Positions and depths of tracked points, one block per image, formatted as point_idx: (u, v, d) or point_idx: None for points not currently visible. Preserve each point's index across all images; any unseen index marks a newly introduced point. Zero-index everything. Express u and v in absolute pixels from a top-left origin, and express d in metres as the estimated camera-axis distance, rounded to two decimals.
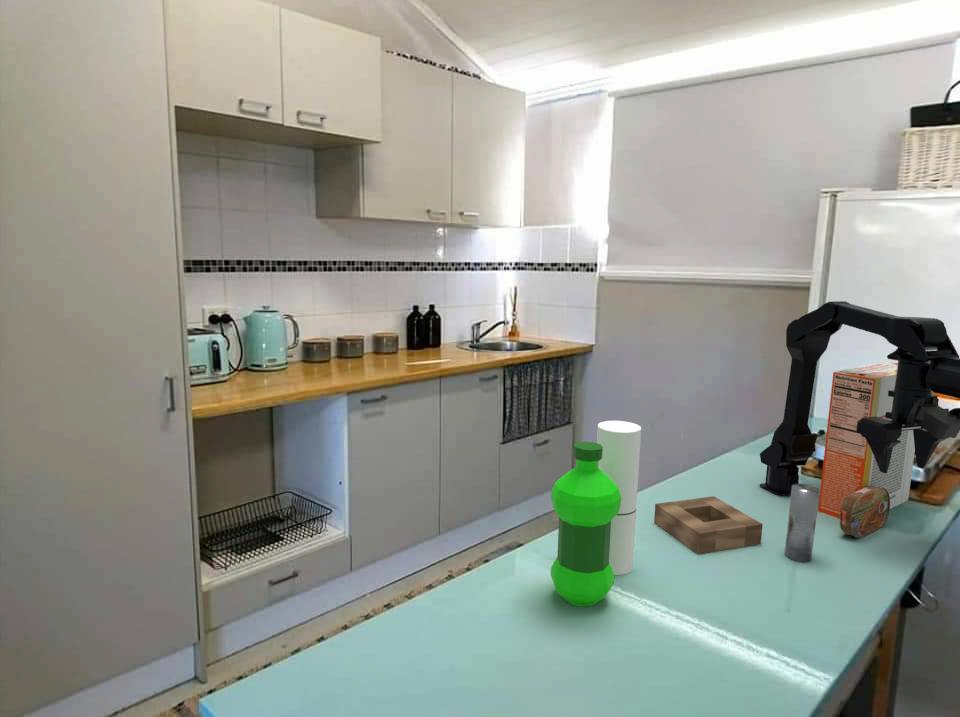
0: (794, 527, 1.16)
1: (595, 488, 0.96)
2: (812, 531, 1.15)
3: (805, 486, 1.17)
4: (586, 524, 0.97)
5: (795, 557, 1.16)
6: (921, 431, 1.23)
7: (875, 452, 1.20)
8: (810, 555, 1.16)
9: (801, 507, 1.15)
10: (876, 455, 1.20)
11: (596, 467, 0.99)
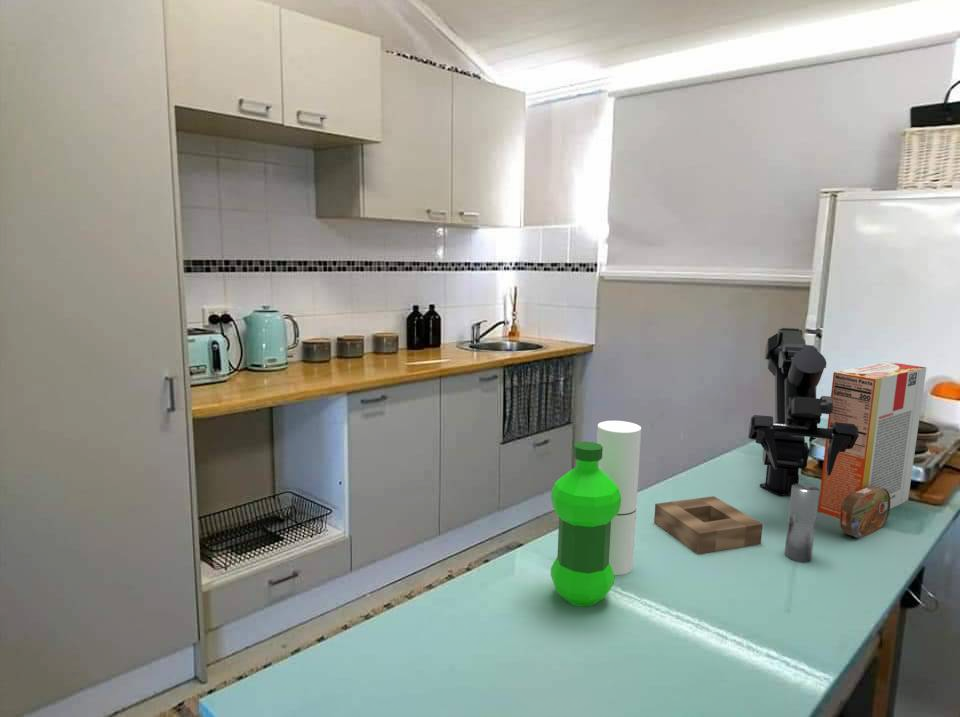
0: (794, 527, 1.16)
1: (595, 488, 0.96)
2: (812, 531, 1.15)
3: (805, 486, 1.17)
4: (586, 524, 0.97)
5: (795, 557, 1.16)
6: (829, 445, 1.27)
7: (768, 453, 1.28)
8: (810, 555, 1.16)
9: (801, 507, 1.15)
10: (768, 455, 1.28)
11: (596, 467, 0.99)
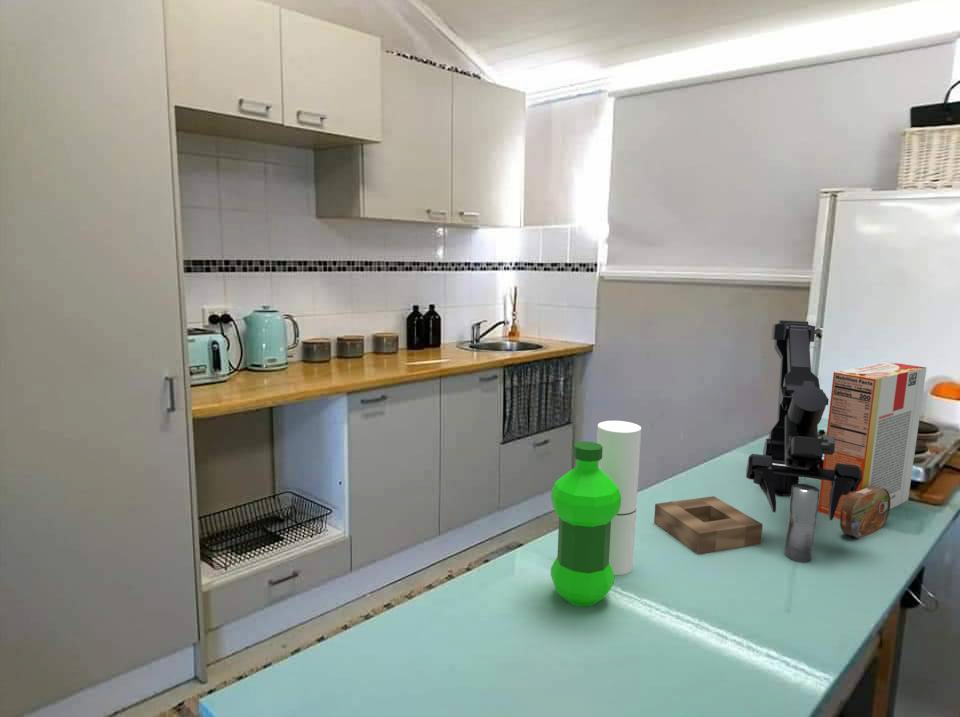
0: (794, 527, 1.16)
1: (595, 487, 0.96)
2: (812, 531, 1.15)
3: (805, 486, 1.17)
4: (586, 524, 0.97)
5: (795, 557, 1.16)
6: (831, 488, 1.20)
7: (766, 494, 1.22)
8: (810, 555, 1.16)
9: (801, 507, 1.15)
10: (767, 497, 1.21)
11: (596, 467, 0.99)
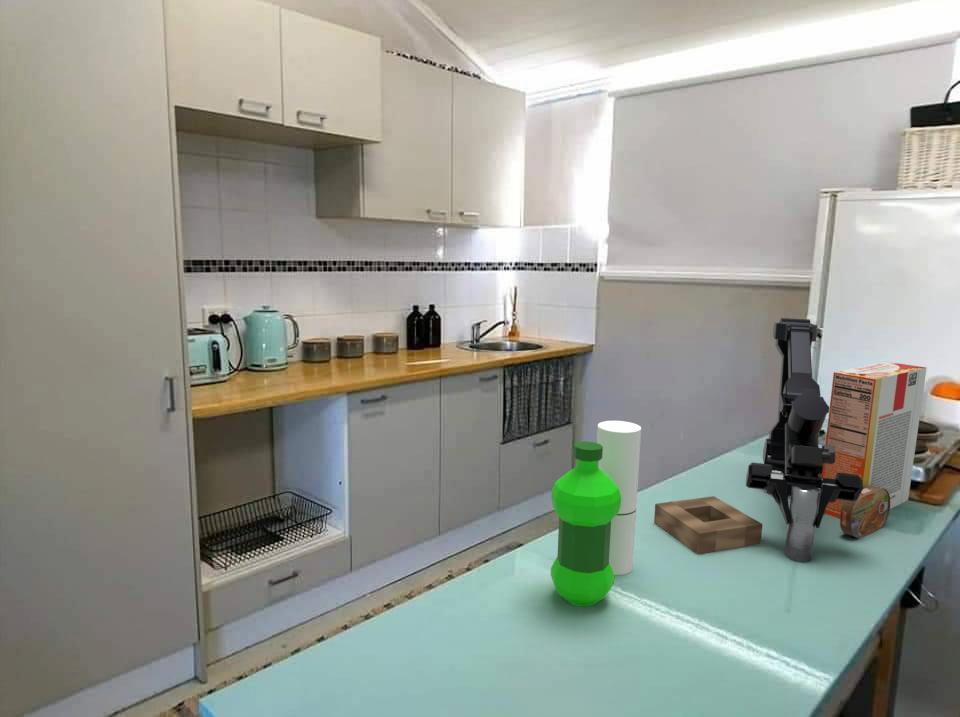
0: (794, 527, 1.16)
1: (595, 487, 0.97)
2: (812, 531, 1.15)
3: (805, 486, 1.17)
4: (587, 524, 0.97)
5: (795, 557, 1.16)
6: None
7: (779, 505, 1.20)
8: (810, 555, 1.16)
9: (801, 507, 1.15)
10: (780, 508, 1.19)
11: (596, 467, 0.99)
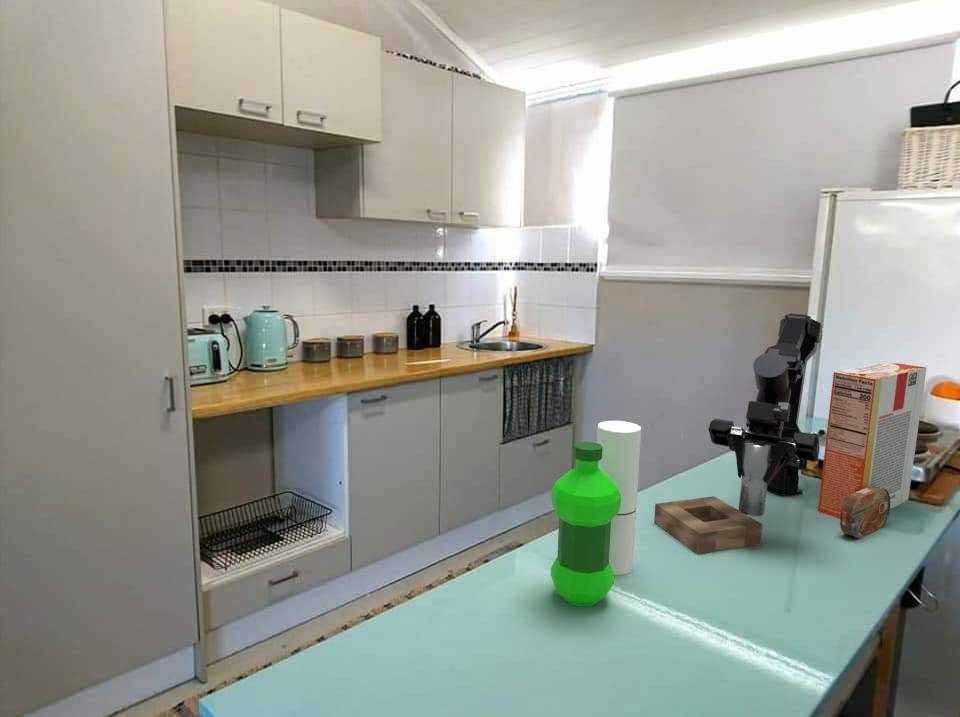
0: (744, 481, 1.19)
1: (595, 488, 0.96)
2: (762, 486, 1.18)
3: (759, 442, 1.19)
4: (586, 524, 0.97)
5: (745, 510, 1.19)
6: None
7: None
8: (760, 510, 1.19)
9: (750, 461, 1.18)
10: None
11: (596, 467, 0.99)
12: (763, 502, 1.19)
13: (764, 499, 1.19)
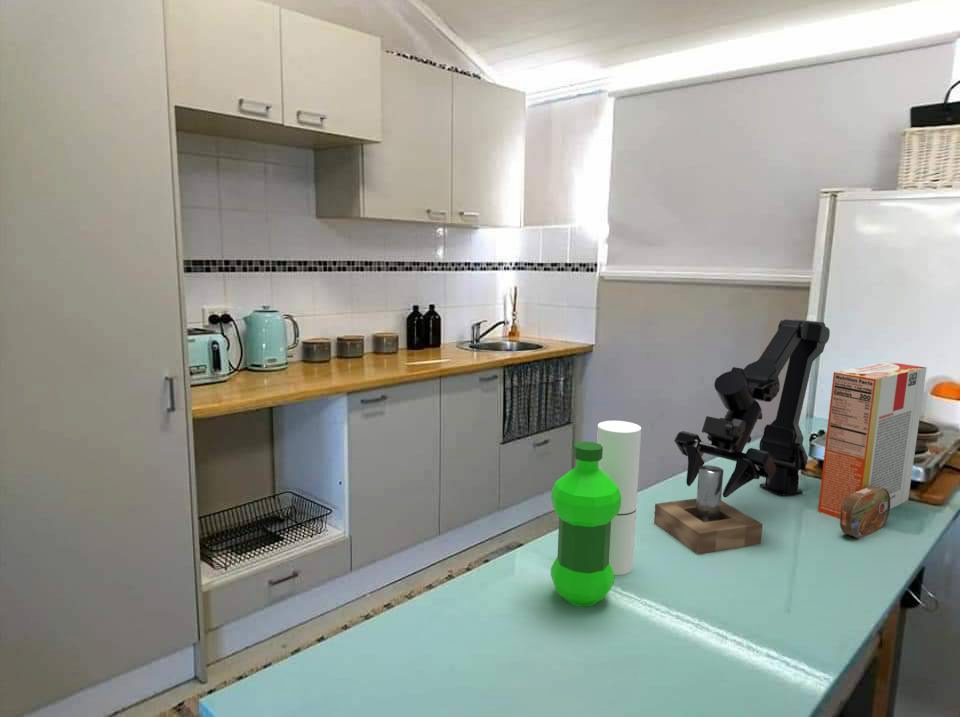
0: (697, 503, 1.26)
1: (596, 488, 0.96)
2: (712, 509, 1.24)
3: (714, 468, 1.25)
4: (587, 524, 0.97)
5: None
6: None
7: None
8: None
9: (701, 485, 1.24)
10: None
11: (596, 467, 0.99)
12: None
13: None
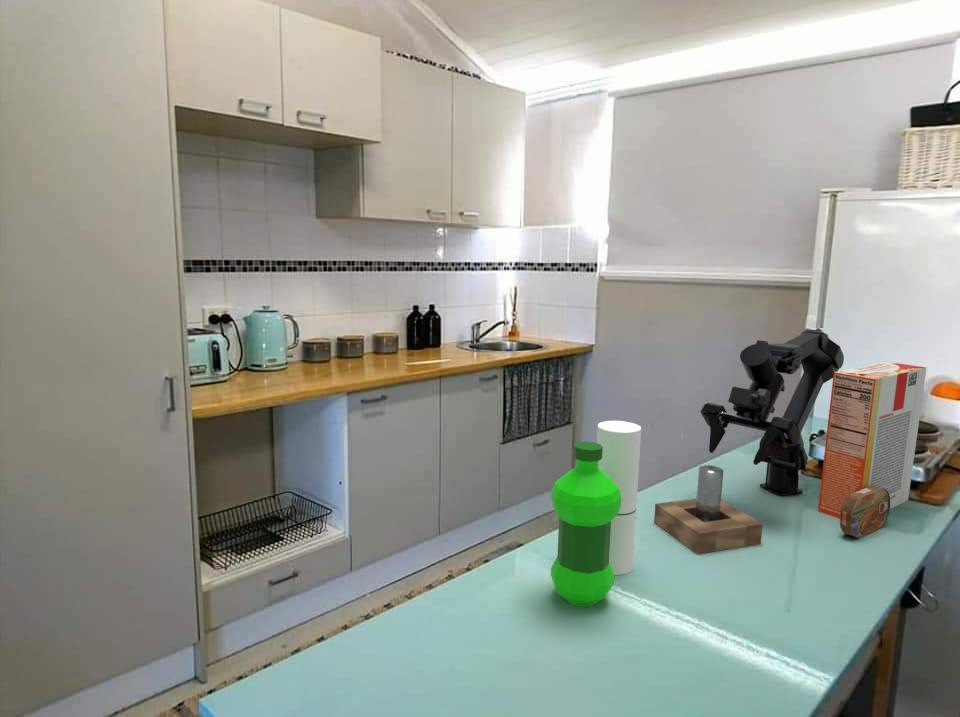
0: (697, 503, 1.26)
1: (595, 488, 0.96)
2: (712, 509, 1.24)
3: (714, 468, 1.25)
4: (587, 524, 0.97)
5: None
6: None
7: None
8: None
9: (701, 485, 1.24)
10: None
11: (596, 467, 0.99)
12: None
13: None
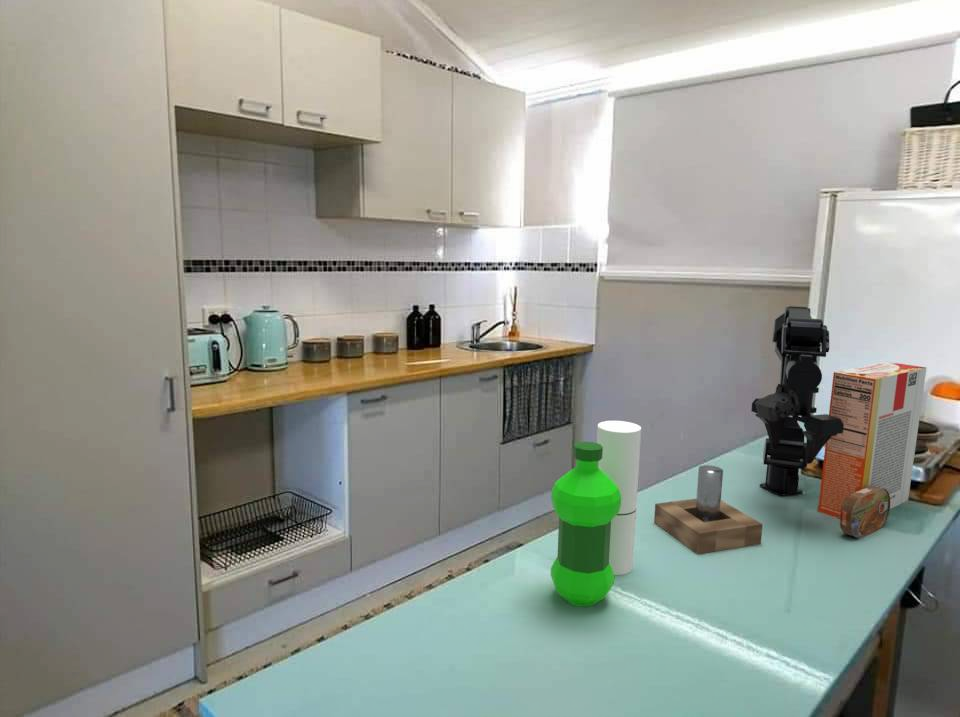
0: (697, 503, 1.26)
1: (595, 488, 0.96)
2: (712, 509, 1.24)
3: (713, 468, 1.25)
4: (587, 524, 0.97)
5: None
6: None
7: None
8: None
9: (701, 485, 1.24)
10: None
11: (596, 467, 0.99)
12: None
13: None
